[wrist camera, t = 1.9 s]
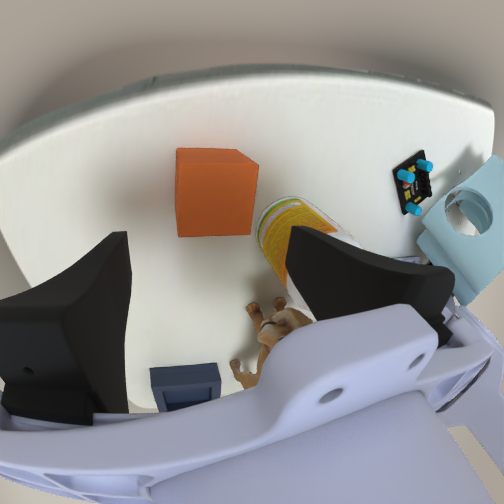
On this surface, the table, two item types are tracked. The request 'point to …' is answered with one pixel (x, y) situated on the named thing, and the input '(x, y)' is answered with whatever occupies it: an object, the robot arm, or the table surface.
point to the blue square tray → (185, 386)
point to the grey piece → (456, 195)
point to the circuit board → (413, 182)
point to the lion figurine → (269, 335)
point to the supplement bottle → (278, 233)
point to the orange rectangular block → (214, 192)
